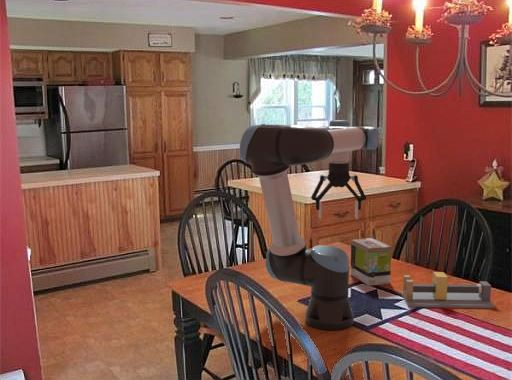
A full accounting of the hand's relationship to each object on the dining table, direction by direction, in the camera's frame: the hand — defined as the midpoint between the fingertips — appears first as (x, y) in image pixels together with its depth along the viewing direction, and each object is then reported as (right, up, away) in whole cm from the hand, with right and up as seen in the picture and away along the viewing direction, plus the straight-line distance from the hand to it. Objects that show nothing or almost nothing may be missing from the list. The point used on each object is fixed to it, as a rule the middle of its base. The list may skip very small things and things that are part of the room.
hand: (338, 218), depth 201 cm
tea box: (+14, -24, +8) cm, 29 cm away
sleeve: (+32, -26, -17) cm, 45 cm away
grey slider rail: (+35, -28, -16) cm, 47 cm away
